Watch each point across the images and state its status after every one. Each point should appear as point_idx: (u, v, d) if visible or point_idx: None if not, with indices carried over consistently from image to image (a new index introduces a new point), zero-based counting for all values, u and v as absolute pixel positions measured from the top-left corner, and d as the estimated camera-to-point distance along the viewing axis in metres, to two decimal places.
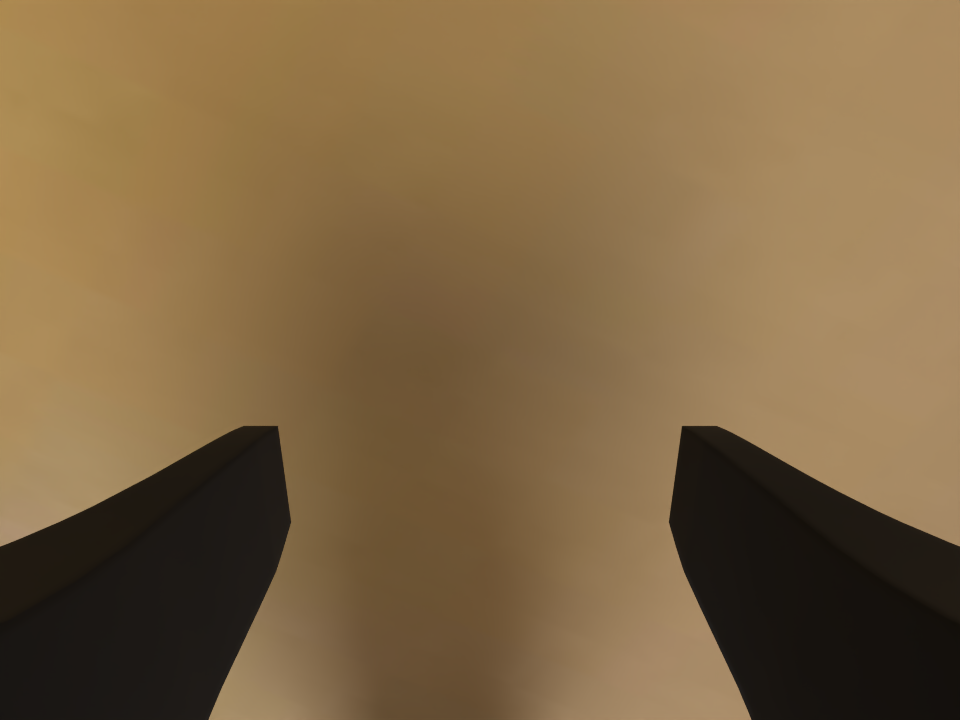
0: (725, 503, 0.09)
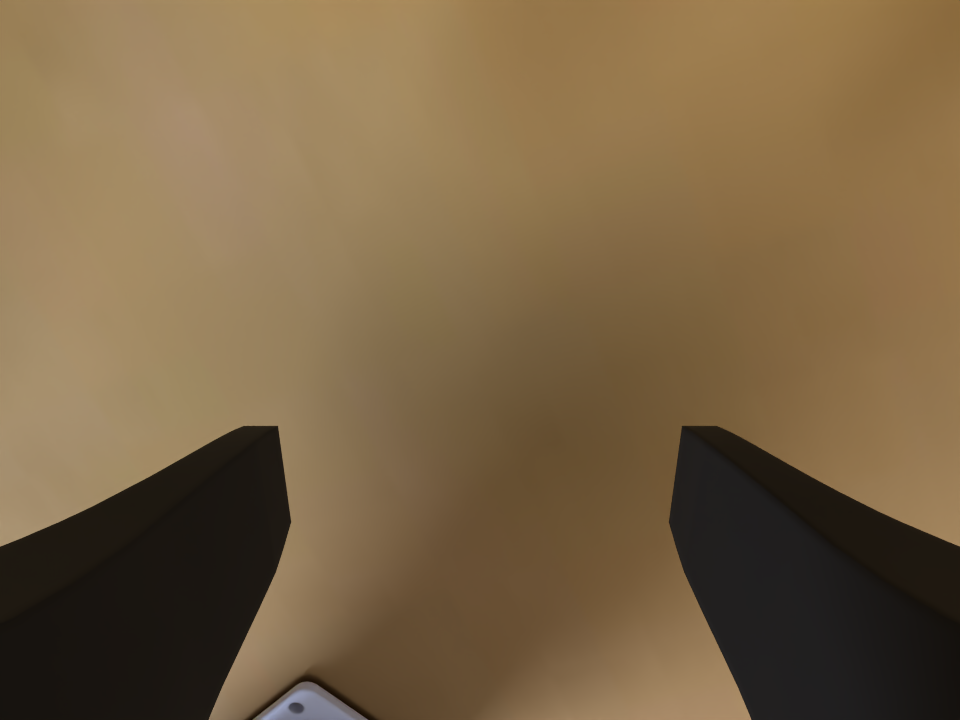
0: (725, 503, 0.09)
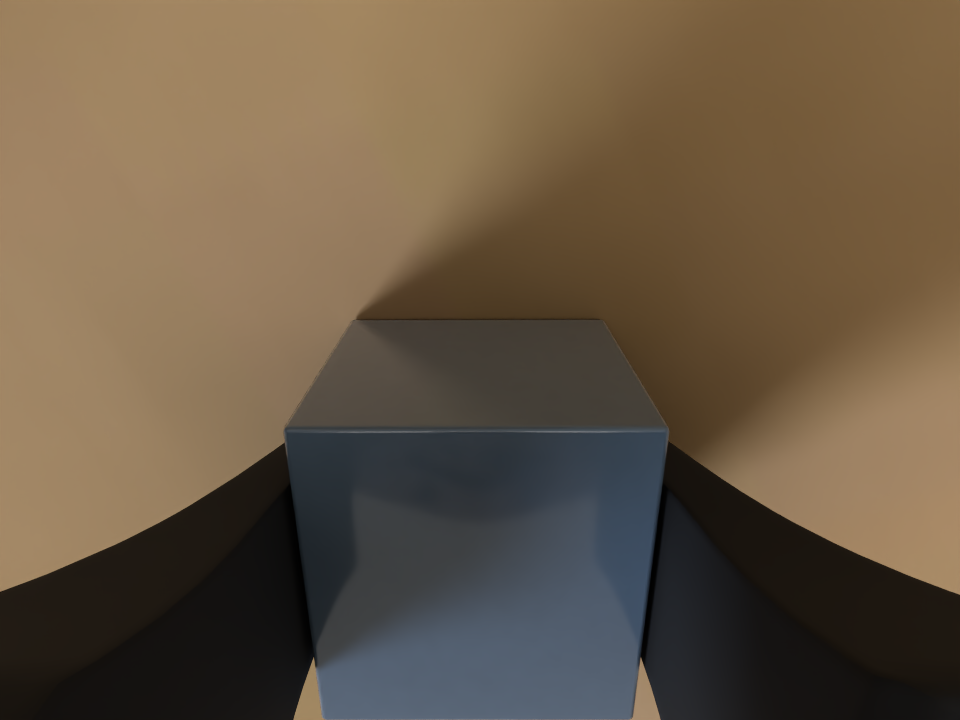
0: None
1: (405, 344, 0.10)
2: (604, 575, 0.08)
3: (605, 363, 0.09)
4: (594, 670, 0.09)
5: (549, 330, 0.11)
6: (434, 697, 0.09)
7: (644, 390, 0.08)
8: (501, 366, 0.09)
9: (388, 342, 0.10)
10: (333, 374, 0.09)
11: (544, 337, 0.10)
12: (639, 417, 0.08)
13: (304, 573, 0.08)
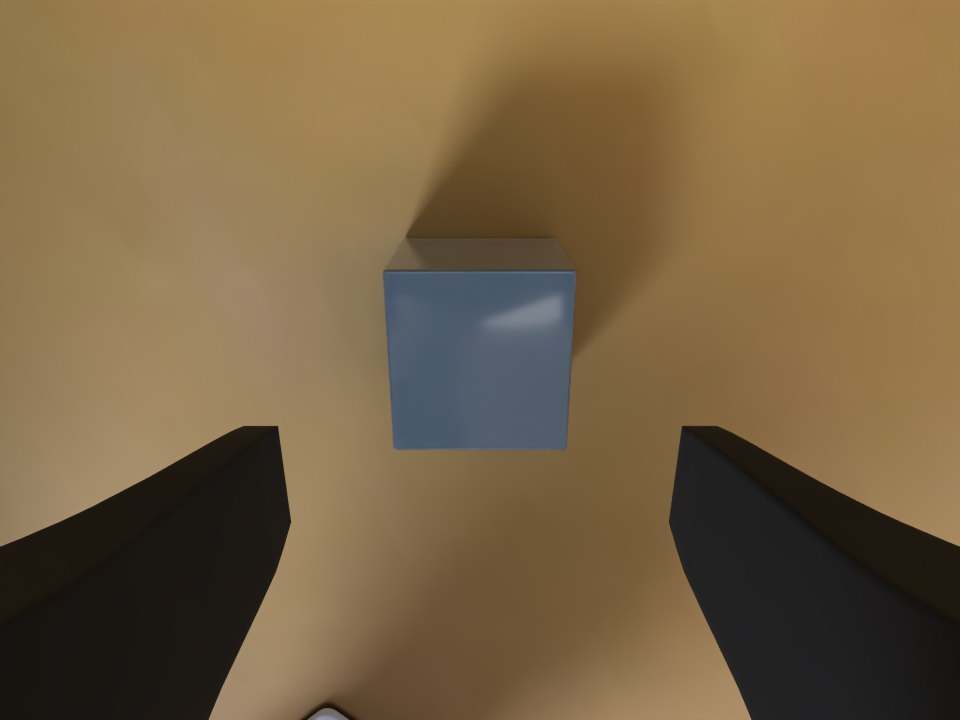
0: (725, 503, 0.09)
1: (438, 246, 0.17)
2: (547, 355, 0.16)
3: (551, 252, 0.17)
4: (543, 415, 0.16)
5: (521, 241, 0.18)
6: (456, 433, 0.16)
7: (568, 260, 0.16)
8: (493, 253, 0.17)
9: (428, 245, 0.18)
10: (401, 255, 0.16)
11: (519, 243, 0.18)
12: (562, 267, 0.15)
13: (389, 354, 0.16)
